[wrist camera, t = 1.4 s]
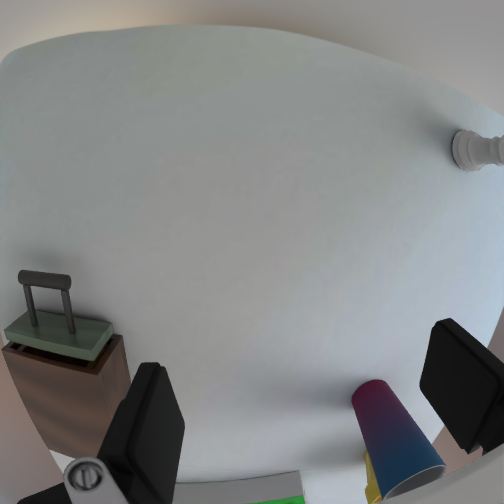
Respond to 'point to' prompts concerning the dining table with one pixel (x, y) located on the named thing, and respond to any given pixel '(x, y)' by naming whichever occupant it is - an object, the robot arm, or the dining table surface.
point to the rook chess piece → (477, 150)
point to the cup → (394, 441)
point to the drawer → (57, 326)
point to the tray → (244, 491)
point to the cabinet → (71, 396)
